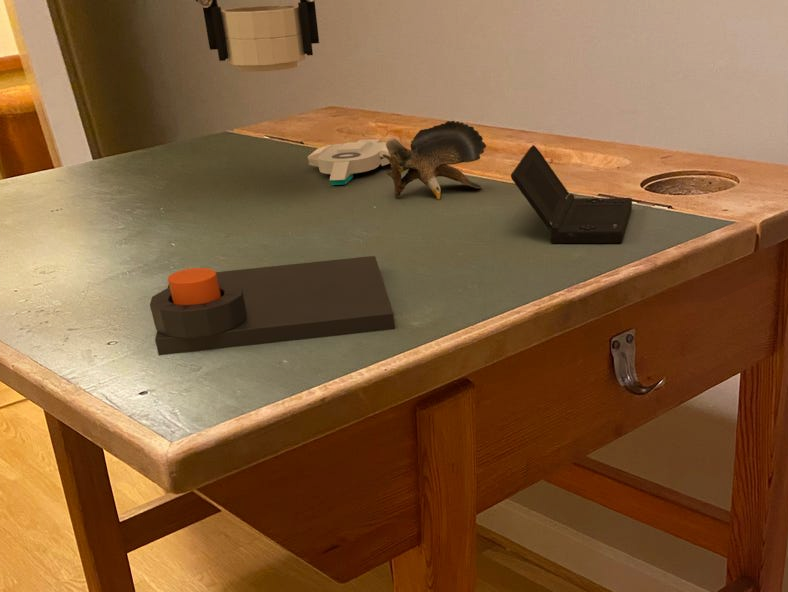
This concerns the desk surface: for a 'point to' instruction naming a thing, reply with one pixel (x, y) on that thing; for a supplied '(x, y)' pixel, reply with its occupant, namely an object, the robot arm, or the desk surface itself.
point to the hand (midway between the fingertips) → (266, 54)
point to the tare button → (194, 286)
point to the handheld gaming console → (569, 205)
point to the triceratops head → (435, 156)
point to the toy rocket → (349, 159)
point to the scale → (277, 306)
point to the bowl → (263, 37)
